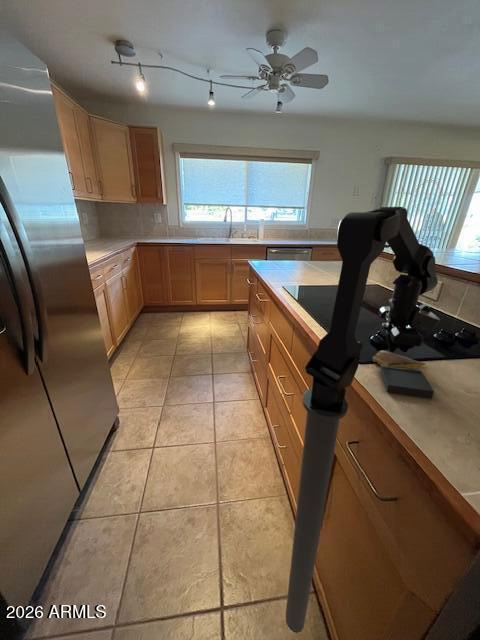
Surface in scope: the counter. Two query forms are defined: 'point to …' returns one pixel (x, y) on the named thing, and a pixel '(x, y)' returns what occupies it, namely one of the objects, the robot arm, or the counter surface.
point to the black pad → (406, 382)
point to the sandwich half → (395, 360)
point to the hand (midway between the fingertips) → (391, 351)
